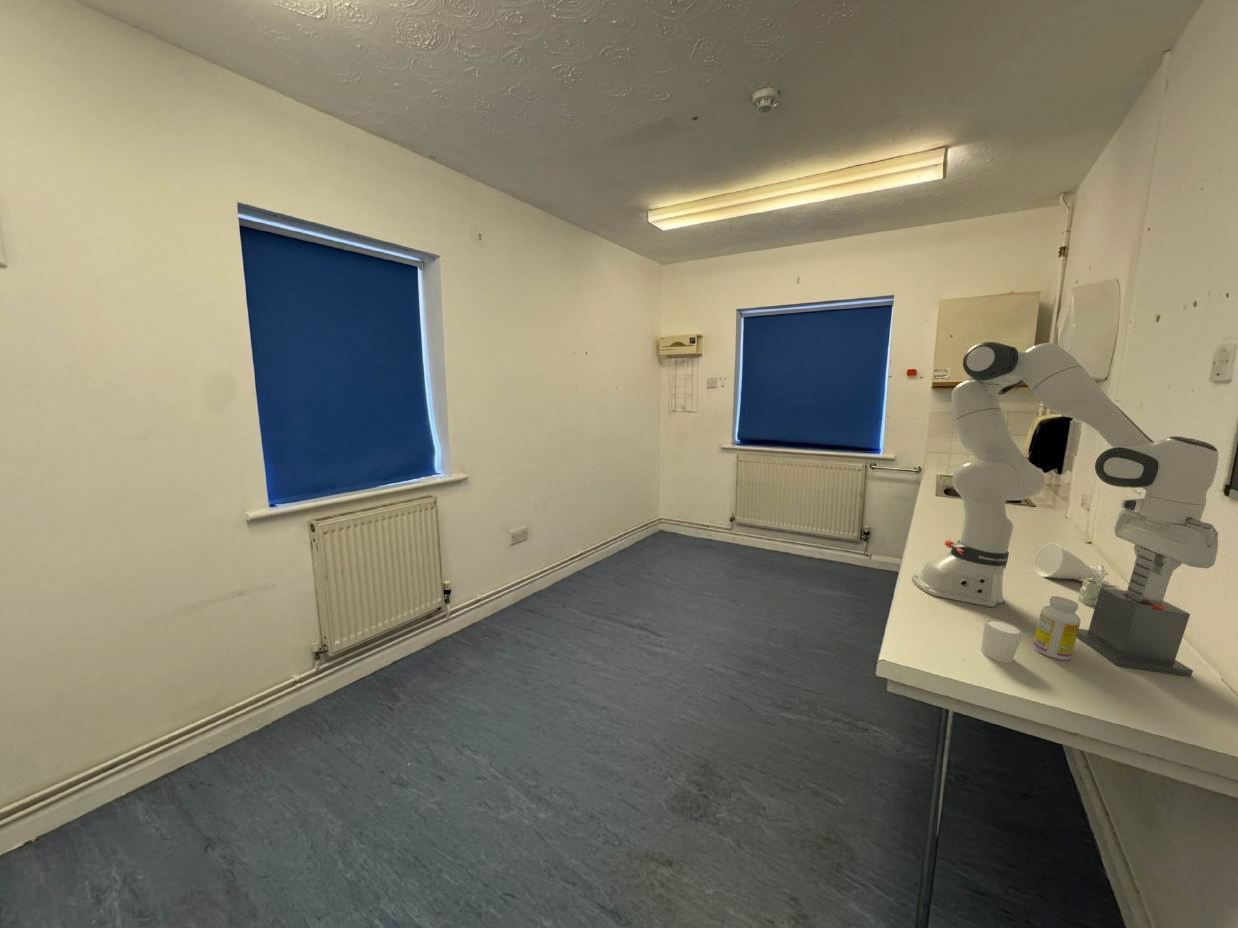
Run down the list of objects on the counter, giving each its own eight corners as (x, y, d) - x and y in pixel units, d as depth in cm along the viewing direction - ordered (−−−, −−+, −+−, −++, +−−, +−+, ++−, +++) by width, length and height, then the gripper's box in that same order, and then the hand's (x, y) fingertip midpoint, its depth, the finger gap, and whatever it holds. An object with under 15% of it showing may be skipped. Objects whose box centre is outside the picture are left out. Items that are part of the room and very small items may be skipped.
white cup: (978, 642, 112) (985, 615, 111) (1016, 655, 108) (1023, 626, 107) (976, 655, 107) (983, 626, 106) (1015, 668, 103) (1023, 638, 102)
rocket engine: (1120, 556, 153) (1059, 536, 156) (1129, 588, 146) (1065, 567, 149) (1088, 571, 162) (1031, 552, 165) (1096, 602, 156) (1036, 582, 158)
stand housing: (1117, 666, 107) (1135, 607, 104) (1070, 633, 120) (1085, 580, 117) (1191, 676, 105) (1211, 617, 102) (1134, 641, 118) (1151, 588, 115)
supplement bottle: (1071, 654, 110) (1086, 602, 108) (1069, 664, 106) (1084, 611, 103) (1033, 641, 115) (1047, 591, 113) (1029, 650, 111) (1043, 599, 108)
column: (1129, 636, 110) (1154, 553, 106) (1113, 627, 114) (1137, 547, 110) (1151, 639, 109) (1177, 556, 105) (1135, 629, 113) (1160, 549, 109)
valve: (1076, 604, 138) (1137, 620, 130) (1082, 582, 137) (1144, 598, 129) (1077, 597, 143) (1135, 613, 135) (1082, 576, 141) (1141, 591, 133)
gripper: (1238, 528, 95) (1215, 593, 98) (1146, 501, 115) (1129, 555, 118) (1201, 524, 96) (1179, 588, 99) (1116, 498, 116) (1100, 552, 119)
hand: (1151, 570), depth 108 cm, fingers open, 4 cm apart
